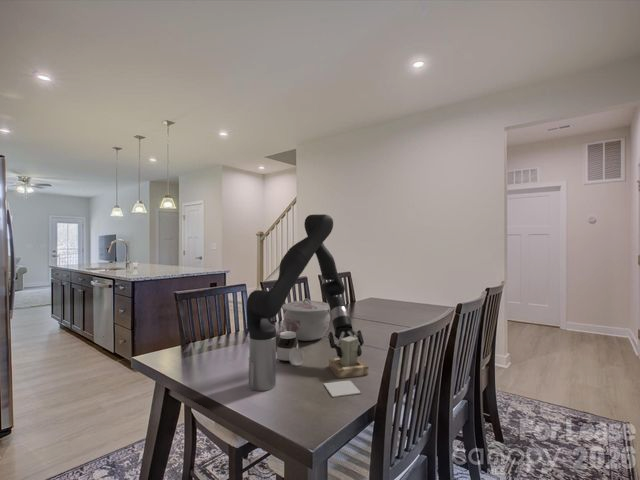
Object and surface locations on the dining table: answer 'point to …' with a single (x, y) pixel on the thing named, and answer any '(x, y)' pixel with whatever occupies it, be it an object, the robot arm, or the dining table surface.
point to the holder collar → (348, 368)
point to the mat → (341, 388)
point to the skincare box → (349, 351)
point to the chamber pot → (307, 319)
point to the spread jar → (289, 349)
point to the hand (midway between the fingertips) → (350, 356)
